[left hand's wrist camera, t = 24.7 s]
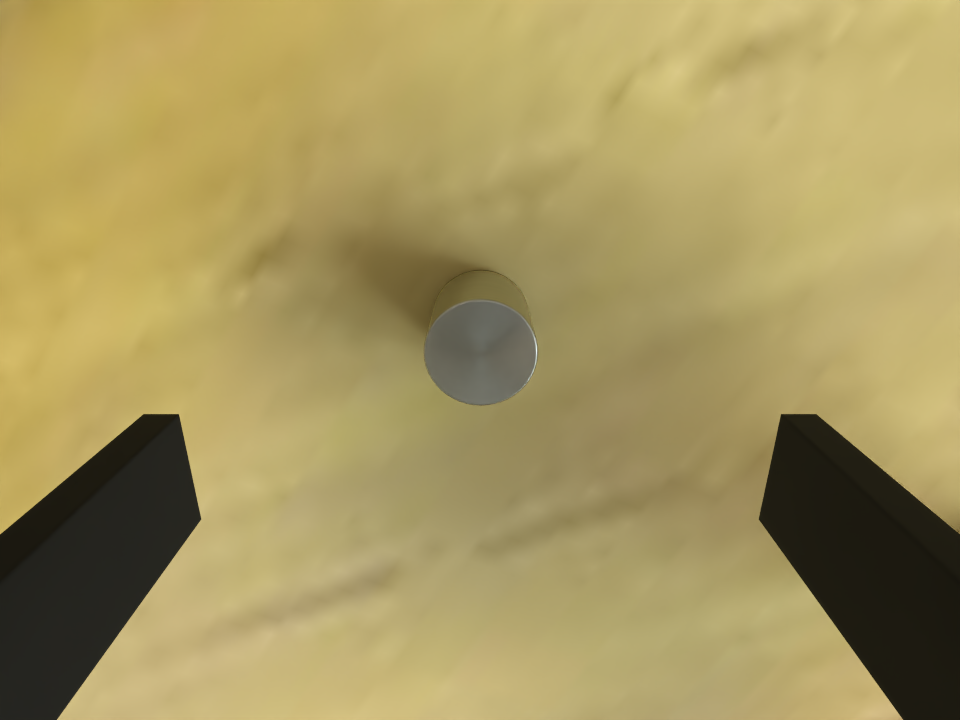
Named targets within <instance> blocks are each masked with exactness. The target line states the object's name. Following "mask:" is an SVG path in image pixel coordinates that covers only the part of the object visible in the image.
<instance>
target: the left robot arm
mask: <svg viewBox="0 0 960 720" xmlns="http://www.w3.org/2000/svg"><path fill="white" fill-rule="evenodd" d="M200 520H201V516H200V512H199V507H198V502H197V497H196V493H195V488H194V483H193V479H192V474H191V469H190V464H189V460H188V455H187V450H186V446H185V441H184V436H183V432H182V427H181V422H180V417H179V414H143V415H142V416H141V417H140V418H139V419H137V420H136V421H135V422H134V423H133V424H132V425H130V426H129V427H128V428H127V429H126V430H124V431H123V432H122V433H121V434H120V435H118V436H117V437H116V438H115V439H114V440H112V441H111V442H110V443H109V444H108V445H106V446H105V447H104V448H103V449H102V450H100V451H99V452H98V453H97V454H96V455H95V456H93V457H92V458H91V459H90V460H89V461H87V462H86V463H85V464H84V465H83V466H81V467H80V468H79V469H78V470H77V471H75V472H74V473H73V474H72V475H71V476H69V477H68V478H67V479H66V480H65V481H64V482H62V483H61V484H60V485H59V486H58V487H56V488H55V489H54V490H53V491H52V492H50V493H49V494H48V495H47V496H46V497H44V498H43V499H42V500H41V501H40V502H38V503H37V504H36V505H35V506H34V507H33V508H31V509H30V510H29V511H28V512H27V513H25V514H24V515H23V516H22V517H21V518H19V519H18V520H17V521H16V522H15V523H13V524H12V525H11V526H10V527H9V528H7V529H6V530H5V531H4V532H3V533H2V534H0V720H57V719H58V717H59V716H60V714H61V713H62V712H63V710H64V709H65V708H66V706H67V705H68V703H69V702H70V701H71V699H72V698H73V696H74V695H75V694H76V692H77V691H78V690H79V688H80V687H81V685H82V684H83V683H84V681H85V680H86V678H87V677H88V676H89V674H90V673H91V671H92V670H93V669H94V667H95V666H96V665H97V663H98V662H99V660H100V659H101V658H102V656H103V655H104V653H105V652H106V651H107V649H108V648H109V646H110V645H111V644H112V642H113V641H114V640H115V638H116V637H117V635H118V634H119V633H120V631H121V630H122V628H123V627H124V626H125V624H126V623H127V621H128V620H129V619H130V617H131V616H132V615H133V613H134V612H135V610H136V609H137V608H138V606H139V605H140V603H141V602H142V601H143V599H144V598H145V597H146V595H147V594H148V592H149V591H150V590H151V588H152V587H153V585H154V584H155V583H156V581H157V580H158V578H159V577H160V576H161V574H162V573H163V572H164V570H165V569H166V567H167V566H168V565H169V563H170V562H171V560H172V559H173V558H174V556H175V555H176V553H177V552H178V551H179V549H180V548H181V547H182V545H183V544H184V542H185V541H186V540H187V538H188V537H189V535H190V534H191V533H192V531H193V530H194V529H195V527H196V526H197V524H198V523H199V522H200ZM759 520H760V522H761V523H762V524H763V526H764V527H765V529H766V530H767V531H768V533H769V534H770V535H771V537H772V538H773V540H774V541H775V542H776V544H777V545H778V547H779V548H780V549H781V551H782V552H783V553H784V555H785V556H786V558H787V559H788V560H789V562H790V563H791V565H792V566H793V567H794V569H795V570H796V572H797V573H798V574H799V576H800V577H801V578H802V580H803V581H804V583H805V584H806V585H807V587H808V588H809V590H810V591H811V592H812V594H813V595H814V597H815V598H816V599H817V601H818V602H819V603H820V605H821V606H822V608H823V609H824V610H825V612H826V613H827V615H828V616H829V617H830V619H831V620H832V621H833V623H834V624H835V626H836V627H837V628H838V630H839V631H840V633H841V634H842V635H843V637H844V638H845V640H846V641H847V642H848V644H849V645H850V646H851V648H852V649H853V651H854V652H855V653H856V655H857V656H858V658H859V659H860V660H861V662H862V663H863V665H864V666H865V667H866V669H867V670H868V671H869V673H870V674H871V676H872V677H873V678H874V680H875V681H876V683H877V684H878V685H879V687H880V688H881V690H882V691H883V692H884V694H885V695H886V696H887V698H888V699H889V701H890V702H891V703H892V705H893V706H894V708H895V709H896V710H897V712H898V713H899V714H900V716H901V717H902V719H903V720H960V534H958V533H957V532H956V531H955V530H954V529H953V528H951V527H950V526H949V525H948V524H947V523H945V522H944V521H943V520H942V519H941V518H939V517H938V516H937V515H936V514H935V513H933V512H932V511H931V510H930V509H929V508H927V507H926V506H925V505H924V504H923V503H922V502H920V501H919V500H918V499H917V498H916V497H914V496H913V495H912V494H911V493H910V492H908V491H907V490H906V489H905V488H904V487H902V486H901V485H900V484H899V483H898V482H896V481H895V480H894V479H893V478H892V477H891V476H889V475H888V474H887V473H886V472H885V471H883V470H882V469H881V468H880V467H879V466H877V465H876V464H875V463H874V462H873V461H871V460H870V459H869V458H868V457H867V456H865V455H864V454H863V453H862V452H861V451H860V450H858V449H857V448H856V447H855V446H854V445H852V444H851V443H850V442H849V441H848V440H846V439H845V438H844V437H843V436H842V435H840V434H839V433H838V432H837V431H836V430H834V429H833V428H832V427H831V426H830V425H828V424H827V423H826V422H825V421H824V420H823V419H821V418H820V417H819V416H818V415H817V414H781V417H780V422H779V427H778V432H777V436H776V441H775V446H774V450H773V455H772V460H771V464H770V469H769V474H768V479H767V483H766V488H765V493H764V497H763V502H762V507H761V511H760V516H759Z"/></svg>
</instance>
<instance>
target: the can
mask: <svg viewBox="0 0 960 720" xmlns="http://www.w3.org/2000/svg"><path fill="white" fill-rule="evenodd" d="M537 358H538V345H537V339H536V336H535V332H534V328H533V325H532V321H531V317H530V314H529V310H528V306H527V303H526V300H525V298H524V296H523V294H522V292H521V291H520V289H519V288H518V287H517V286H516V285H515V284H514V283H513V282H512V281H511V280H509V279H508V278H506V277H505V276H503V275H501V274H498V273H495V272H491V271H483V270H479V271H471V272H467V273H464V274H461V275H459V276H457V277H455V278H454V279H452V280H451V281H450V282H448V283H447V284H446V285H445V286H444V288H443V289H442V290H441V292H440V293H439V295H438V297H437V299H436V302H435V305H434V308H433V312H432V316H431V320H430V323H429V327H428V331H427V335H426V339H425V344H424V360H425V365H426V368H427V371H428V373H429V375H430V377H431V379H432V380H433V382H434V383H435V384H436V385H437V386H438V387H439V389H440V390H442V391H443V392H444V393H445V394H447V395H448V396H450V397H451V398H453V399H455V400H457V401H460V402H463V403H466V404H471V405H490V404H495V403H499V402H502V401H504V400H507V399H509V398H510V397H512V396H514V395H515V394H516V393H518V392H519V391H520V390H521V389H522V388H523V387H524V386H525V385H526V384H527V383H528V381H529V380H530V378H531V376H532V375H533V372H534V370H535V367H536V364H537Z"/></svg>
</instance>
